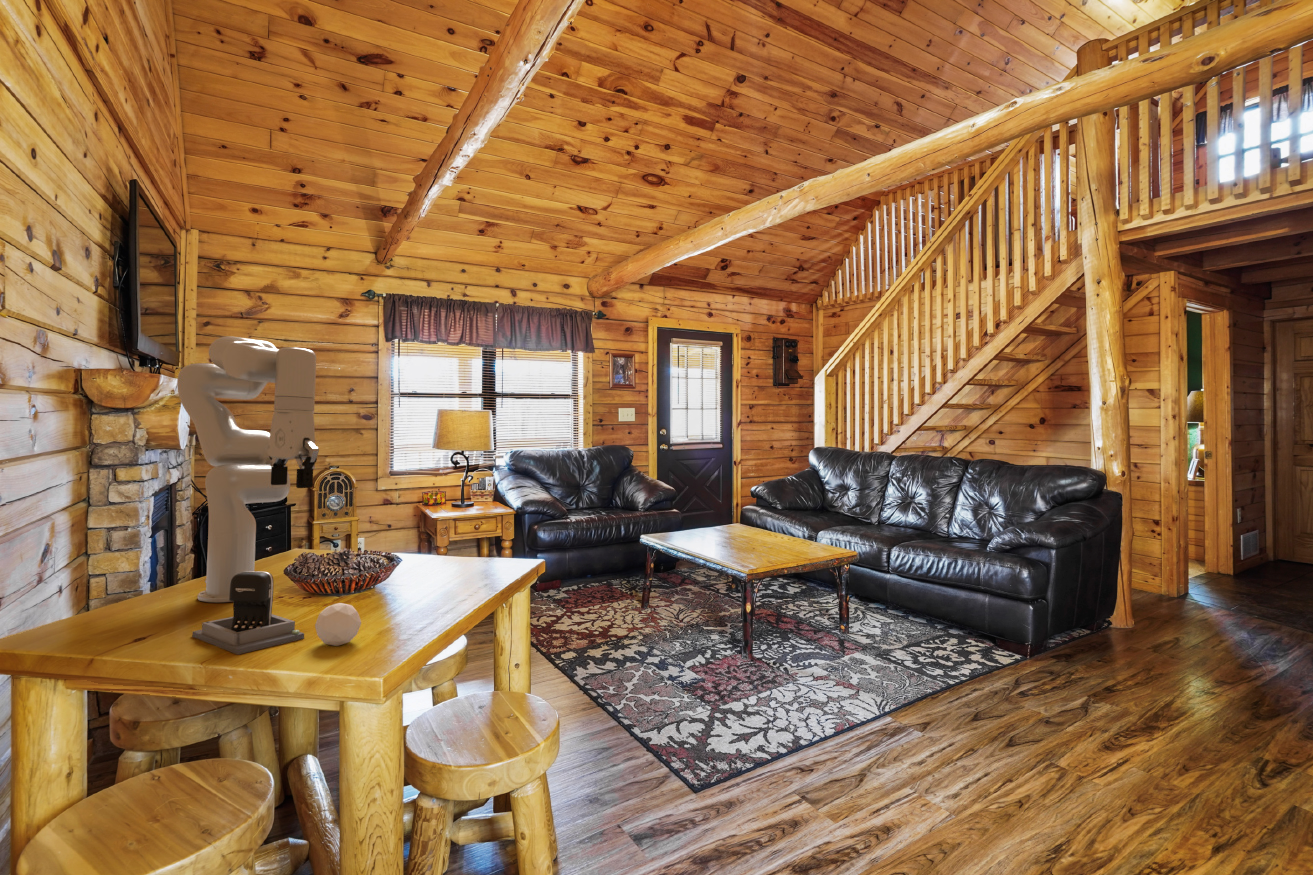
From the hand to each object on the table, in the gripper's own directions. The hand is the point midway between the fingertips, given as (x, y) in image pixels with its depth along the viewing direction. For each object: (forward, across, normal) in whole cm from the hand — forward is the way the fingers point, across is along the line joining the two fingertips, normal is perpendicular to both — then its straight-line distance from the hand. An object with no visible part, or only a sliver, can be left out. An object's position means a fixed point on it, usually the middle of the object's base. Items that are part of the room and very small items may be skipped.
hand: (291, 486), depth 139 cm
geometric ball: (+28, +23, -3) cm, 37 cm away
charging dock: (+28, +7, -11) cm, 31 cm away
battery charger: (+27, +7, -11) cm, 30 cm away
